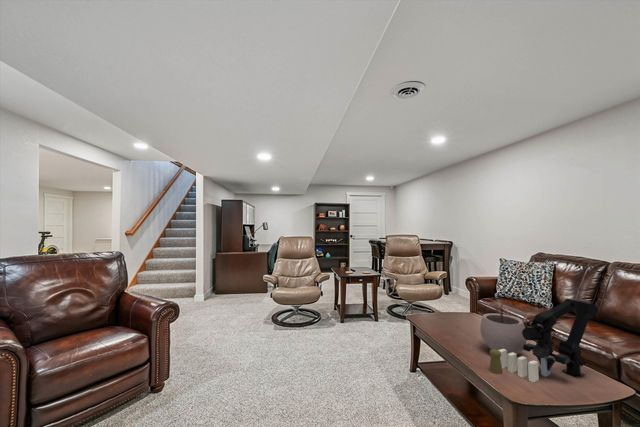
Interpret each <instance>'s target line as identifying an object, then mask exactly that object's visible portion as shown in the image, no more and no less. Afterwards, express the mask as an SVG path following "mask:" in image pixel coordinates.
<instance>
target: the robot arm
mask: <svg viewBox="0 0 640 427" xmlns="http://www.w3.org/2000/svg"><path fill="white" fill-rule="evenodd" d="M597 306H598V305H596V304H595V303H592V302H588V301H585V300H576V299H572V298H565V299H564V301H562V302H560V303H559V304H558V305H556V306H554V307H553V308H551V309H550V310H548V311H542V312H539V313H537V314H535V316H534V318H533V319H532V321H531V322H530V324H529V325H530V326H525V325H524V326H525V329H523V331H522V335H523V337H524V338H525V339H526V340H527V341H536V343H535V344H533V343H529V342H528V343H527V342H526V344H525V345H523V351H526V352H528V353H529V352H531V351H532V355H533V356H535V357H536V358H537V361H538V363H539V364H540V366H541V358H544V357H545V356H547V357H549V358H548V359H547V361H548V371H550V370H551V371H552V368H553V366H554V364H555V362H557V363H559V364H562V365H565V369H564V370H563V371H562V372H563V373H565V374H568V375H570V376H573V377H576V378H580V377H583V376H584V375H585V374H584V373H583V372H582V371H581V367H583V366H586V363H587V361H586V360H585V359H584V358H583V357H582V350H581V348H580V347H581V346H580V345H581V341H582V339H583V337H584V334H585V331H586V328H587V327H588V326H587V325H588V323H589V321H590V320H591V319H593V318H595V316H596V315H597V313H598V311H599V308H598V307H597ZM573 310H574V312H575V318H574V321H573V323H572V326H571V329H570V331H569V333H568V336H567V339H566V340H564V341H562V340H561V341H560V342H559V345H558V347H557V348H558V349H557V352H558V354H556V353H554V349H553V344H554V342H553V340H552V338H553V337H552V332H556V329H555V328H554V326H555V325H556V324H557V322H558V320H559V319H560V318H562V317H563V316H565V315H567V314H568V313H569V312H571V311H573Z"/></svg>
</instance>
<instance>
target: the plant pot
mask: <svg viewBox="0 0 640 427" xmlns="http://www.w3.org/2000/svg"><path fill="white" fill-rule="evenodd" d="M503 305H504V303H501V305H500V306H501V307H499V306H497V305H495V307H496V308H499V309H500V311H499V310H497V309H496V308H494V309H493V310H494V311H495V312H497V313H485V314H483V315H482V317H481V321H480V326H479V327H480V329H479V331H480V334H481V338H482V341H483V342H484V344H485V345H486V346H487V347H488V348H489V349H490V350H491V349H496V350H501V349H505V350H507V354H509V353H512V352H513V353H516V354H517V355H518V354H520V353H522V352H523V351H524V350H523V345H525V344H527V341H528V340H526V339H525V338H524V337H523V335H522V331H523V329H525V323H524V321H523V320H522V319H520V318H518V317H515V316H512V315H510V314H509V315H507V314H503V312H504V308H506V307H505V306H504V308H503Z"/></svg>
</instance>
